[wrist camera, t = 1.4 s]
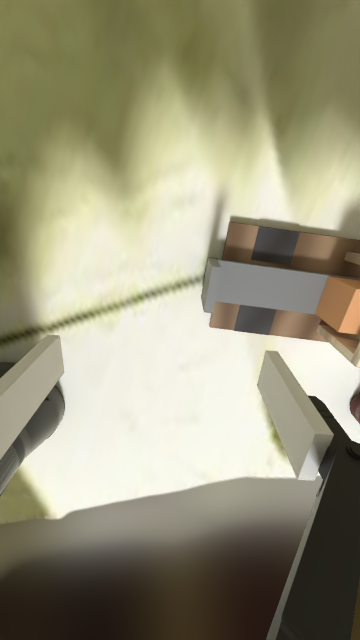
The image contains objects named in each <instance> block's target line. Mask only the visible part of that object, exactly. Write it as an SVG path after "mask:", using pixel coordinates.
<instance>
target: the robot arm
mask: <svg viewBox="0 0 360 640" xmlns="http://www.w3.org/2000/svg"><path fill="white" fill-rule="evenodd" d="M63 373H64V366H63V358H62V350H61V342H60V336H57V335H47V336H46V337H45V338H43V339H42V340H41V341H40V342H39V343H38V344H37V345H36V346H35V347H34V348H33V349H32V350H30V351H29V352H28V353H27V354H26V355H25V356H24V357H23V358H22V359H21V360H20V361H19V362H17V363H16V364H15V363H0V496H1V495H2V493H3V491H4V490H5V488H6V487H7V485H8V483H9V482H10V480H11V479H12V477H13V475H14V474H15V472H16V471H17V469H18V467H19V466H20V464H21V463H22V461H23V460H24V458H25V457H26V456H28V455H29V454H30V453H31V452H32V451H33V450H34V449H36V448H37V447H38V446H39V445H40V444H41V443H42V442H43V441H44V440H46V439H47V438H48V437H50V436H51V435H52V434H53V432H54V431H55V430H56V428H57V427H58V425H59V423H60V422H61V420H62V418H63V415H64V401H63V398H62V395H61V393H60V392H59V390H58V388H57V387H56V386H55V384H56V383H57V381H58V380H59V379H60V377H61V376H62V375H63ZM257 386H258V389H259V391H260V393H261V395H262V398H263V400H264V402H265V405H266V407H267V409H268V412H269V414H270V416H271V419H272V421H273V423H274V426H275V428H276V430H277V433H278V435H279V437H280V440H281V442H282V444H283V447H284V449H285V451H286V454H287V456H288V458H289V461H290V463H291V465H292V468H293V470H294V472H295V475H296V477H297V479H298V480H315V478H316V476H317V473H318V471H319V473H320V475H321V477H322V479H323V482H322V484H321V486H320V488H319V491H318V493H317V495H316V497H317V498H316V500H315V503H314V506H313V509H312V512H311V514H310V517H309V520H308V523H307V526H306V528H305V531H304V534H303V537H302V540H301V543H300V545H299V548H298V551H297V554H296V557H295V560H294V562H293V565H292V568H291V571H290V574H289V576H288V579H287V582H286V585H285V588H284V591H283V594H282V596H281V599H280V602H279V605H278V607H277V610H276V613H275V616H274V619H273V622H272V624H271V628H270V630H269V633H268V636H267V639H266V640H350V638H351V631H352V625H353V618H354V611H355V604H356V598H357V591H358V584H359V577H360V444H359V443H357V442H354V441H351V439H350V438H349V437H348V435H347V434H346V433H345V431H344V430H343V428H342V427H341V426H340V424H339V423H338V422H337V420H336V419H334V416H333V415H332V413H331V412H330V411H329V409H328V408H327V407H326V405H325V404H324V403H323V402H322V401H321V400H319V399H318V398H317V397H316V396H307V394H306V393H305V391H304V390H303V388H302V387H301V386H300V384H299V383H298V381H297V380H296V378H295V377H294V375H293V374H292V372H291V371H290V369H289V368H288V366H287V365H286V363H285V362H284V360H283V359H282V357H281V356H280V354H279V353H278V351H265V355H264V359H263V363H262V368H261V372H260V376H259V380H258V384H257Z"/></svg>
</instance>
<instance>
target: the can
mask: <svg viewBox="0 0 360 640" xmlns="http://www.w3.org/2000/svg"><path fill="white" fill-rule="evenodd" d="M350 411H351V414H352V415H353V416H354V417H355V419H356V420H357V421H358V422H359V424H360V393H358V394H357V395H356V396H355V397H354V398H353V399H352V401H351V404H350Z"/></svg>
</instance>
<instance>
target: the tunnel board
mask: <svg viewBox="0 0 360 640" xmlns="http://www.w3.org/2000/svg"><path fill="white" fill-rule="evenodd" d="M222 260H229V261H236V262H244V263H251V264H258V265H266V266H273V267H280V268H287V269H295V270H302V271H309V272H317V273H324V274H331V275H339V276H346V277H353V278H360V240H353V239H346V238H339V237H332V236H325V235H318V234H311V233H304V232H297V231H290V230H283V229H276V228H269V227H262V226H255V225H248V224H241V223H234V222H230V223H229V228H228V233H227V238H226V243H225V248H224V253H223V258H222ZM209 326H210V327H212V328H220V329H228V330H234V331H240V332H248V333H256V334H264V335H275V336H283V337H291V338H299V339H307V340H315V341H323V342H329V343H330V344H331V345H332V346H333V347H334V348H336V349H337V350H338V351H339V352H340V353H341V354H342V355H343V356H344V357H345V358H346V359H348V360H349V361H350V362H351V363H352V364H353V365H354V366H355V367H360V335H357V334H349V333H341V332H337V331H336V330H335V329H334V328H332V327H331V326H330V325H329V324H327V323H326V322H325V321H324V320H322V319H321V318H320V317H319V316H317V315H316V314H309V313H301V312H293V311H286V310H278V309H270V308H263V307H255V306H247V305H240V304H232V303H224V302H217V301H215V304H214V309H213V313H212V315H211V320H210V325H209Z"/></svg>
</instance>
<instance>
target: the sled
mask: <svg viewBox="0 0 360 640" xmlns="http://www.w3.org/2000/svg"><path fill="white" fill-rule="evenodd" d="M201 299H202V304H203V310H204V312H207V313H213V309H214V304H215V301H217V302H224V303H232V304H240V305H247V306H255V307H263V308H270V309H278V310H286V311H293V312H301V313H309V314H316V315H317V316H319V317H320V318H321V319H322V320H324V321H325V322H326V323H327V324H329V325H330V326H331V327H332V328H334V329H335V330H336V331H337V332H341V333H349V334H357V335H360V278H353V277H346V276H339V275H331V274H324V273H317V272H309V271H302V270H295V269H287V268H280V267H273V266H266V265H258V264H251V263H244V262H236V261H229V260H222V259H214V258H208V260H207V266H206V272H205V277H204V283H203V289H202V295H201Z"/></svg>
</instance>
